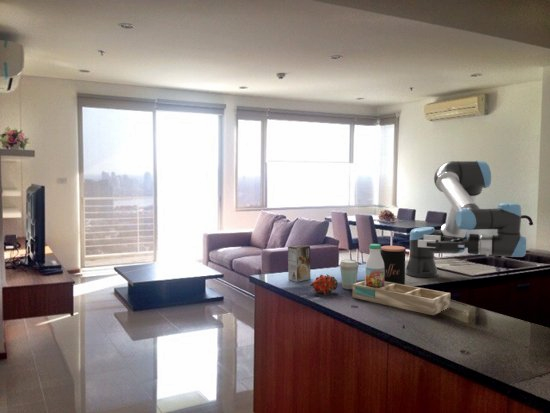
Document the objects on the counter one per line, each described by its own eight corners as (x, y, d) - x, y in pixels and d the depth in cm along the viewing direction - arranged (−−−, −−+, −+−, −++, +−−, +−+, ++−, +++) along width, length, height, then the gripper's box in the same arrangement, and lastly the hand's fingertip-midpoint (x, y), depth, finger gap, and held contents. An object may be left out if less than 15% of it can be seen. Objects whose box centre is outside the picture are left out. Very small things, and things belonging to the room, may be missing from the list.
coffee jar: (375, 287, 210) (375, 247, 209) (387, 283, 218) (388, 244, 217) (397, 291, 203) (397, 250, 202) (409, 287, 211) (409, 247, 210)
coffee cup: (358, 290, 206) (358, 263, 205) (338, 289, 208) (338, 262, 207) (359, 285, 215) (359, 259, 214) (340, 284, 216) (340, 258, 215)
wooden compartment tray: (370, 291, 204) (370, 278, 204) (450, 307, 179) (450, 293, 179) (351, 297, 194) (351, 284, 194) (432, 315, 169) (433, 300, 169)
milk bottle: (361, 291, 197) (361, 243, 195) (376, 289, 200) (377, 242, 198) (372, 296, 190) (372, 246, 188) (388, 294, 193) (388, 245, 191)
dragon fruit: (340, 296, 202) (312, 301, 201) (335, 281, 209) (308, 286, 208) (340, 283, 197) (312, 288, 196) (335, 268, 203) (308, 273, 202)
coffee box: (301, 276, 234) (301, 244, 232) (310, 279, 229) (310, 245, 228) (287, 279, 228) (287, 246, 226) (297, 282, 223) (296, 248, 222)
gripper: (477, 260, 167) (415, 255, 176) (480, 248, 189) (425, 245, 199) (477, 239, 166) (415, 235, 176) (481, 230, 189) (426, 227, 198)
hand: (420, 240), depth 187 cm, fingers open, 13 cm apart
